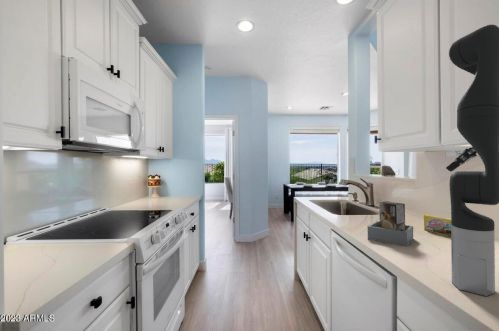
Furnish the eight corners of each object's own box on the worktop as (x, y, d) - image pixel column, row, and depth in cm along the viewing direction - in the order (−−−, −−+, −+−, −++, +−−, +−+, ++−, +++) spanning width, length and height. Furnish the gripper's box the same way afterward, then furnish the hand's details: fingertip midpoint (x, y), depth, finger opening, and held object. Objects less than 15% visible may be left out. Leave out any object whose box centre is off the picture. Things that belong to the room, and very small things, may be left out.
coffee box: (406, 238, 113) (406, 203, 113) (397, 240, 110) (396, 204, 110) (387, 233, 121) (387, 201, 121) (378, 235, 119) (378, 201, 119)
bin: (407, 246, 105) (407, 232, 105) (367, 238, 116) (367, 226, 116) (413, 238, 116) (413, 226, 116) (376, 232, 127) (376, 221, 127)
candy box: (423, 230, 130) (423, 214, 130) (426, 229, 131) (426, 214, 131) (458, 238, 115) (458, 221, 115) (461, 238, 116) (461, 220, 116)
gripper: (478, 133, 96) (441, 163, 103) (479, 129, 85) (438, 163, 93) (498, 146, 92) (458, 176, 100) (501, 143, 82) (456, 177, 89)
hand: (448, 169), depth 96 cm, fingers open, 8 cm apart
